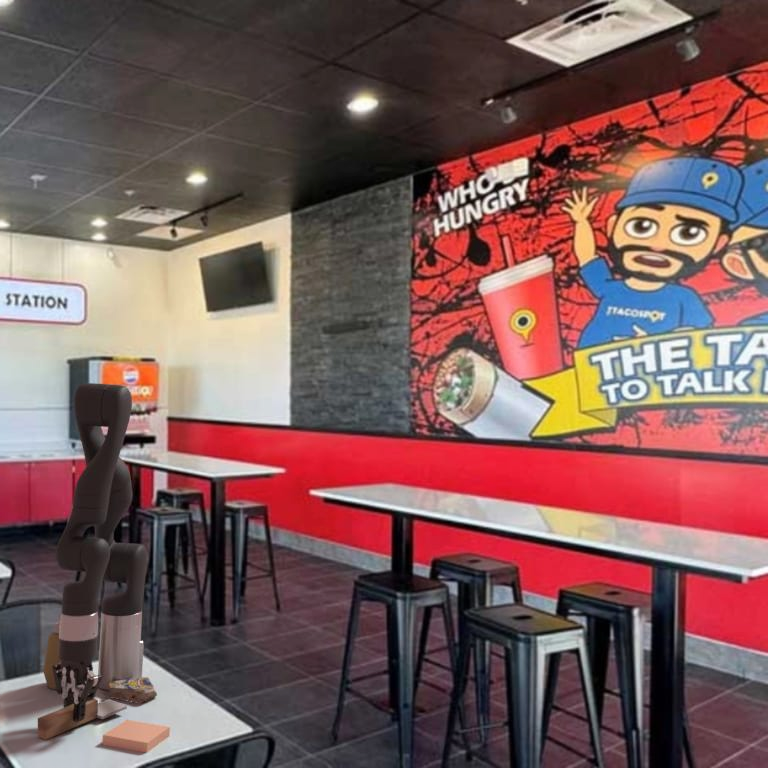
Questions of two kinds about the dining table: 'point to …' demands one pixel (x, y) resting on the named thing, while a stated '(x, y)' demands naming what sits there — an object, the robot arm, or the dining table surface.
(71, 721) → the wooden bar with blade
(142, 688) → the ceramic tile fragment
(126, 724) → the tile
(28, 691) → the dining table surface
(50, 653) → the squeeze bottle
